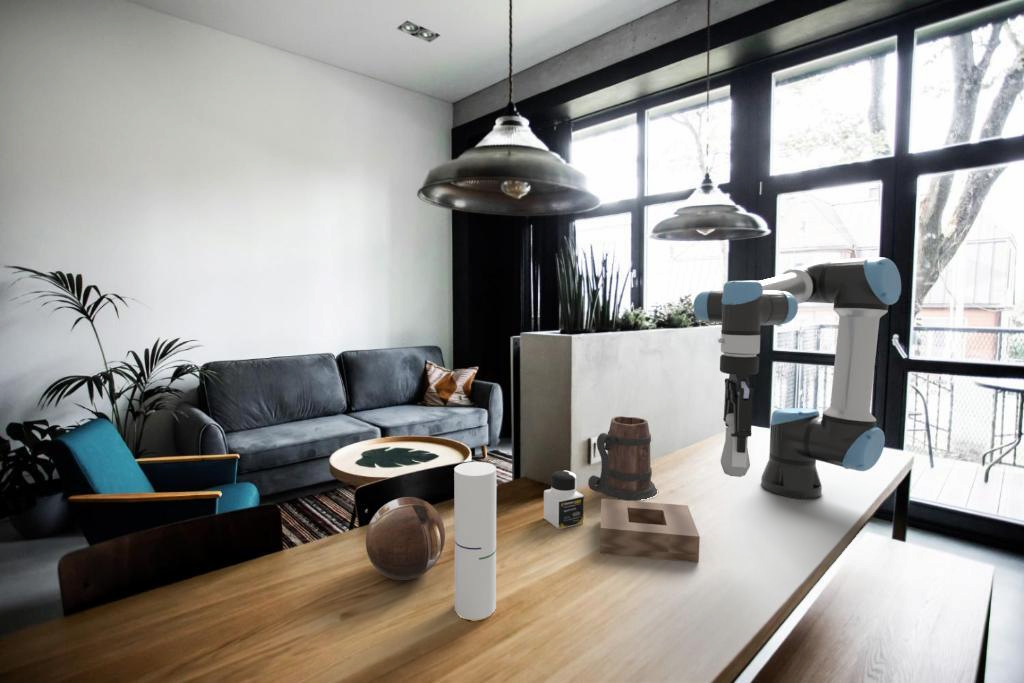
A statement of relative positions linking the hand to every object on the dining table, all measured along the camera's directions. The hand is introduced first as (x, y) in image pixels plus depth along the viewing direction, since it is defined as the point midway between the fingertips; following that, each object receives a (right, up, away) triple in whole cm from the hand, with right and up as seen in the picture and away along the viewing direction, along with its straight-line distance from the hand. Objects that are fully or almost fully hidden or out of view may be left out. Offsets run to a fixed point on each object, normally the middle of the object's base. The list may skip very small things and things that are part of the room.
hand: (735, 461), depth 109 cm
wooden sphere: (-69, -20, -10) cm, 72 cm away
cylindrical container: (-54, -21, -21) cm, 62 cm away
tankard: (-18, -17, +33) cm, 41 cm away
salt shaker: (0, -3, 0) cm, 3 cm away
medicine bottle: (-35, -18, +14) cm, 42 cm away
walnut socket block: (-18, -19, +5) cm, 26 cm away
